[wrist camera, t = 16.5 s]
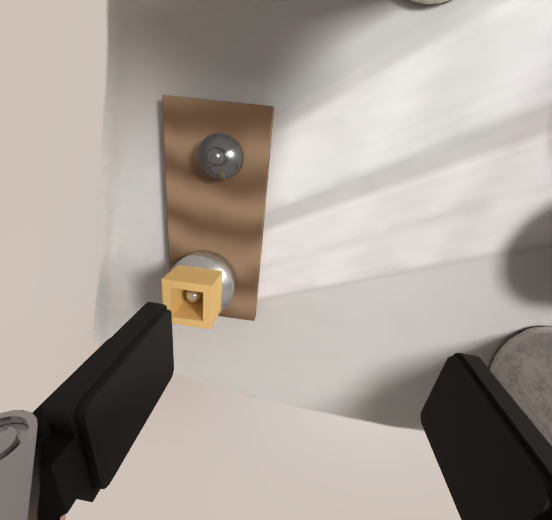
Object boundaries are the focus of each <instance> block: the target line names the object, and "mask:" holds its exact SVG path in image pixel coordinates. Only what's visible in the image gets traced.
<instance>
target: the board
mask: <svg viewBox="0 0 552 520" xmlns="http://www.w3.org/2000/svg"><path fill="white" fill-rule="evenodd" d="M162 98H163V121H164V145H165V168H166V192H167V215H168V239H169V262H170V270H171V269H172V267H173V266H174V265H175V264H176V263H177V262H179V261H180V260H181V259H182V258H183V257H185V256H186V255H187V254H189V253H191V252H193V251H197V250H208V251H213V252H215V253H218V254H220V255H221V256H223V257H224V258H225V259H227V260H228V261H229V263H230V264H231V265H232V267H233V269H234V271H235V273H236V278H237V286H236V290H235V292H234V294H233V296H232V298H231V300H230V302H229V304H228V306H227V307H226V308H225V309H224V310H223V311H222V312H220V313H219V315H218V316H223V317H230V318H238V319H245V320H252V321H254V320H255V316H256V306H257V295H258V283H259V272H260V261H261V250H262V238H263V227H264V216H265V204H266V193H267V182H268V170H269V159H270V148H271V137H272V125H273V114H274V108H273V106H264V105H254V104H244V103H234V102H225V101H215V100H205V99H195V98H186V97H176V96H166V95H162ZM215 133H221V134H225V135H228V136H230V137H232V138H234V139H235V140H236V141H237V142H238V143H239V144H240V146H241V148H242V150H243V154H244V162H243V165H242V168H241V170H240V171H239V172H238V173H237V174H236V175H235V176H233V177H230V178H226V179H216V178H213V177H211V176H209V175H208V174H207V173H206V172H205V171H204V170H203V169H202V167H201V165H200V162H199V158H198V151H199V147H200V144H201V143H202V141H203V140H204V139H205V138H206V137H207V136H209V135H211V134H215Z"/></svg>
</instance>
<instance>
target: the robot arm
mask: <svg viewBox="0 0 552 520" xmlns="http://www.w3.org/2000/svg"><path fill="white" fill-rule="evenodd" d="M411 1H413V2H416V3H421V4H438V3H443V2H446V1H449V0H411ZM173 371H174V360H173V336H172V313H171V310H168V309H167V306H166V305H165V304H159V303H152V302H147V303H146V304H145V305H144V306H143V307H142V308H141V309H140V310H139V311H138V312H137V313H136V314H135V315H134V316H133V317H132V318H131V319H130V320H129V321H128V322H126V323H125V324H124V325H123V326H122V327H121V328H120V329H119V330H118V331H117V332H116V333H115V334H114V335H113V336H112V337H111V338H110V339H108V340H107V341H106V342H105V343H104V344H103V345H102V346H101V347H100V348H99V349H98V350H97V351H96V352H94V353H93V354H92V355H91V356H90V357H89V358H88V359H87V360H86V361H85V362H84V363H83V364H82V365H81V366H80V367H79V368H78V369H77V370H76V371H75V372H74V373H73V374H72V375H71V376H70V377H69V378H68V379H67V380H66V381H65V382H64V383H63V384H61V385H60V386H59V387H58V388H57V390H55V391H54V392H53V393H52V394H51V395H50V396H49V397H48V398H47V399H46V400H45V401H44V402H43V403H42V404H41V405H40V406H39V407H38V408H37V409H36V410H35V411H34V412H33V413H31V412H28V411H24V410H14V411H9V412H4V413H0V520H65V514H66V513H68V511H69V510H70V508H71V507H72V505H73V504H74V502H75V500H76V499H80V500H85V501H89V502H93V500H94V499H95V497H96V495H97V494H98V492H99V490H100V489H105V488H106V487H107V486H108V485H109V484H110V482H111V481H112V479H113V477H114V476H115V474H116V472H117V471H118V469H119V467H120V465H121V463H122V462H123V460H124V458H125V457H126V455H127V453H128V452H129V450H130V448H131V446H132V445H133V443H134V441H135V440H136V438H137V436H138V434H139V433H140V431H141V429H142V428H143V426H144V424H145V422H146V421H147V419H148V417H149V415H150V414H151V412H152V410H153V409H154V407H155V405H156V403H157V402H158V400H159V398H160V397H161V395H162V393H163V392H164V390H165V388H166V386H167V385H168V383H169V381H170V379H171V378H172V375H173ZM421 423H422V426H423V428H424V431H425V433H426V435H427V438H428V440H429V442H430V445H431V447H432V450H433V452H434V455H435V457H436V459H437V462H438V464H439V467H440V469H441V471H442V474H443V476H444V478H445V481H446V483H447V486H448V488H449V491H450V493H451V496H452V498H453V500H454V503H455V505H456V508H457V510H458V512H459V515H460V517H461V519H462V520H552V446H551V444H550V443H549V442H548V441H547V440H546V438H545V437H544V436H543V435H542V433H541V432H540V431H539V430H538V429H537V427H536V426H535V425H534V424H533V422H532V421H531V420H530V419H529V418H528V416H527V415H526V414H525V413H524V411H523V410H522V409H521V408H520V407H519V405H518V404H517V403H516V402H515V400H514V399H513V398H512V397H511V396H510V394H509V393H508V392H507V391H506V389H505V388H504V387H503V386H502V385H501V383H500V382H499V381H498V380H497V378H496V377H495V376H494V375H493V374H492V372H491V371H490V370H489V369H488V367H487V366H486V365H485V364H484V363H483V361H482V360H481V359H480V358H479V357H477V356H474V355H468V354H462V353H455V354H454V355H453V356H451V357H449V358H448V359H447V361H446V363H445V365H444V367H443V369H442V371H441V373H440V375H439V377H438V379H437V381H436V383H435V385H434V387H433V389H432V391H431V393H430V395H429V397H428V399H427V401H426V403H425V405H424V407H423V409H422V412H421Z"/></svg>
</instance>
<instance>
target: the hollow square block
mask: <svg viewBox="0 0 552 520" xmlns="http://www.w3.org/2000/svg"><path fill="white" fill-rule="evenodd" d="M186 290H189V291H197V292H203V301H198V302H191V301H189V300H188V299H186ZM221 294H222V271H219V270H212V269H205V268H197V267H190V266H183V265H177V266H176V267H175V268H174V269H173V270H171V271H170V272H169V273H168V274H167V275H166V276H164V277H163V278H162V299H163V304H165V305H166V306H167V309H168V310H171V313H172V324H178V325H185V326H192V327H199V328H206V329H211V328H212V326H213V324H214V322H215V320H216V318H217V317H218V315H219V313H220V311H221Z"/></svg>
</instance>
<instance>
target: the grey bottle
mask: <svg viewBox="0 0 552 520" xmlns="http://www.w3.org/2000/svg"><path fill="white" fill-rule="evenodd" d="M490 371H491V372H492V374H493V375H494V376H495V377H496V378H497V380H498V381H499V382H500V383H501V385H502V386H503V387H504V388H505V389H506V391H507V392H508V393H509V394H510V396H511V397H512V398H513V399H514V400H515V402H516V403H517V404H518V405H519V407H520V408H521V409H522V410H523V411H524V413H525V414H526V415H527V416H528V418H529V419H530V420H531V421H532V422H533V424H534V425H535V426H536V427H537V429H538V430H539V431H540V432H541V433H542V435H543V436H544V437H545V438H546V440H547V441H548V442H549V443H550V444H551V446H552V327H550V326H545V327H534V328H530V329H527V330H525V331H523V332H522V333H520V334H517V335H515V336H514V337H512V338H511V339H509V340H508V341H507V342H506V343H505V344H504V345H503V346H502V347H501V348H500V350H499V352H498V353H497V354H495V357H494V360H493V362H492V364H491V366H490Z"/></svg>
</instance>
